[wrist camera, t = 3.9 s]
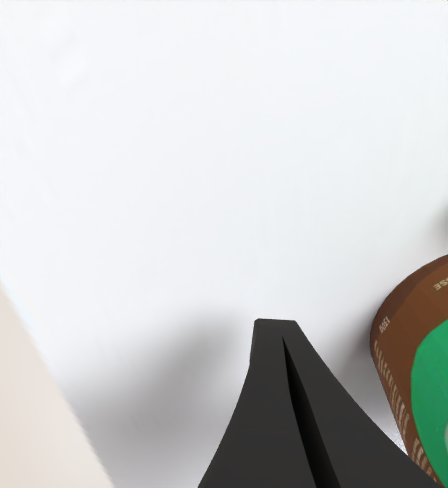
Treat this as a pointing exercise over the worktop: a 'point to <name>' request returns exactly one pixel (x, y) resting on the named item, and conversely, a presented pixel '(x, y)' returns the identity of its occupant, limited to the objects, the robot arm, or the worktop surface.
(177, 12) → the worktop surface
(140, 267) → the worktop surface
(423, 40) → the worktop surface
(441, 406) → the food container
